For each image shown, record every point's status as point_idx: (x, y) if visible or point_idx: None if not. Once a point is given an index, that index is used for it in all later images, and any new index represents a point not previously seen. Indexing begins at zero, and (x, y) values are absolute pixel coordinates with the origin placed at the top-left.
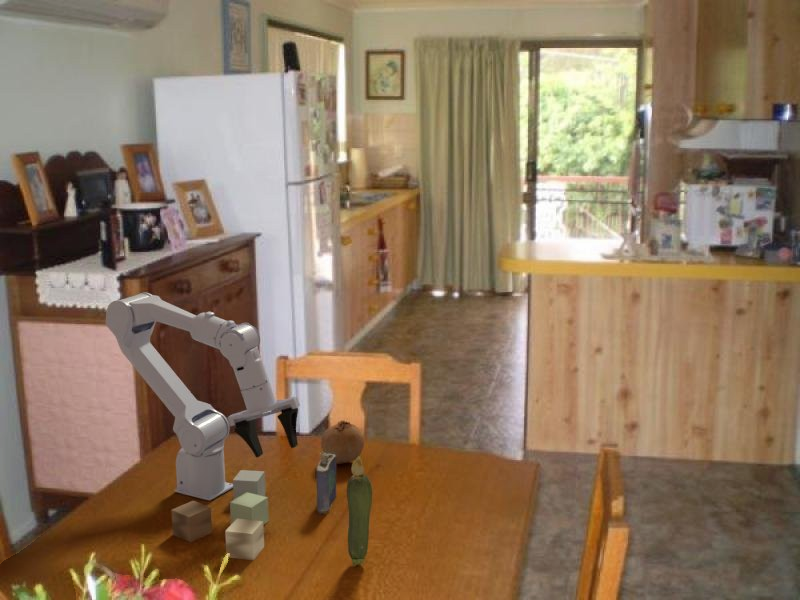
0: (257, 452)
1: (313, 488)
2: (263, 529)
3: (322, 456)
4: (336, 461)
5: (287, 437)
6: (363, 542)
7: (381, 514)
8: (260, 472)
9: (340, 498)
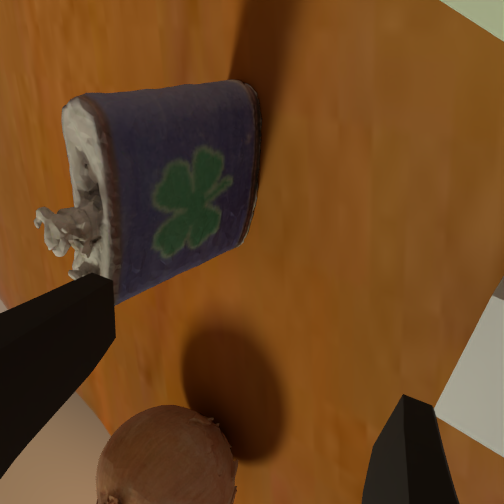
0: (400, 428)
1: (281, 314)
2: None
3: (62, 224)
4: (207, 421)
5: (30, 325)
6: None
7: (100, 65)
8: (459, 412)
9: None
